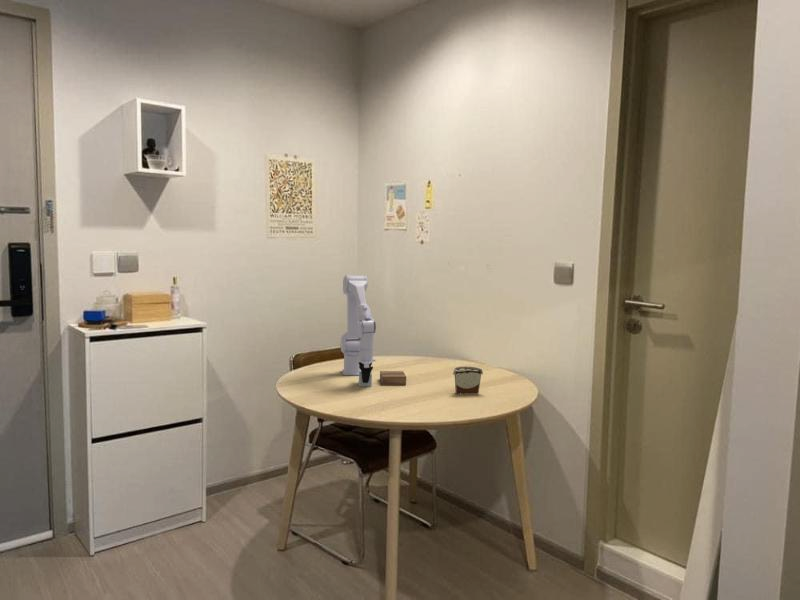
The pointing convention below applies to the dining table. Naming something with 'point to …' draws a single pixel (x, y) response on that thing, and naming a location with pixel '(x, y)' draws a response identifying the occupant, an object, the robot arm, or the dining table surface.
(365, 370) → the robot arm
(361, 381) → the gray cube
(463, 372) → the food container
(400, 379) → the walnut block
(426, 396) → the dining table surface
